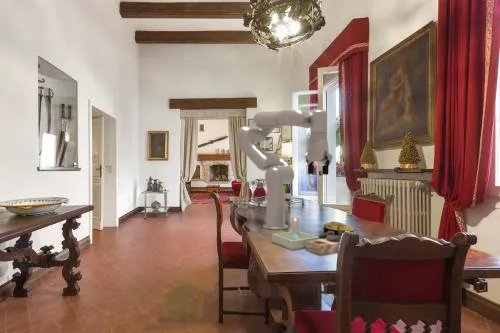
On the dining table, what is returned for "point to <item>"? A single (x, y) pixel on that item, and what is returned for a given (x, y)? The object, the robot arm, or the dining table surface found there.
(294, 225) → the lock pin
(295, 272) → the dining table surface
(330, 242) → the tan base block
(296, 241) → the tray
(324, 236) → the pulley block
